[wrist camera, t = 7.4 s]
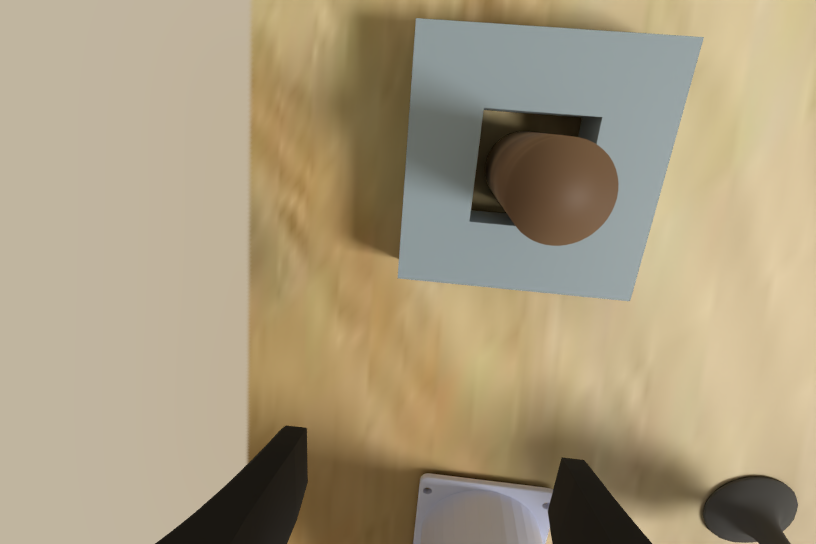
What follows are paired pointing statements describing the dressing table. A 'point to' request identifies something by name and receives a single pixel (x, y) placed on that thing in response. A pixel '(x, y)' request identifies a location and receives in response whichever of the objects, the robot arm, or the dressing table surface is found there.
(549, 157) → the peg
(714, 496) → the sundae
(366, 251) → the dressing table surface
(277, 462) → the robot arm
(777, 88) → the dressing table surface
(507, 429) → the dressing table surface
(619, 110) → the socket block
